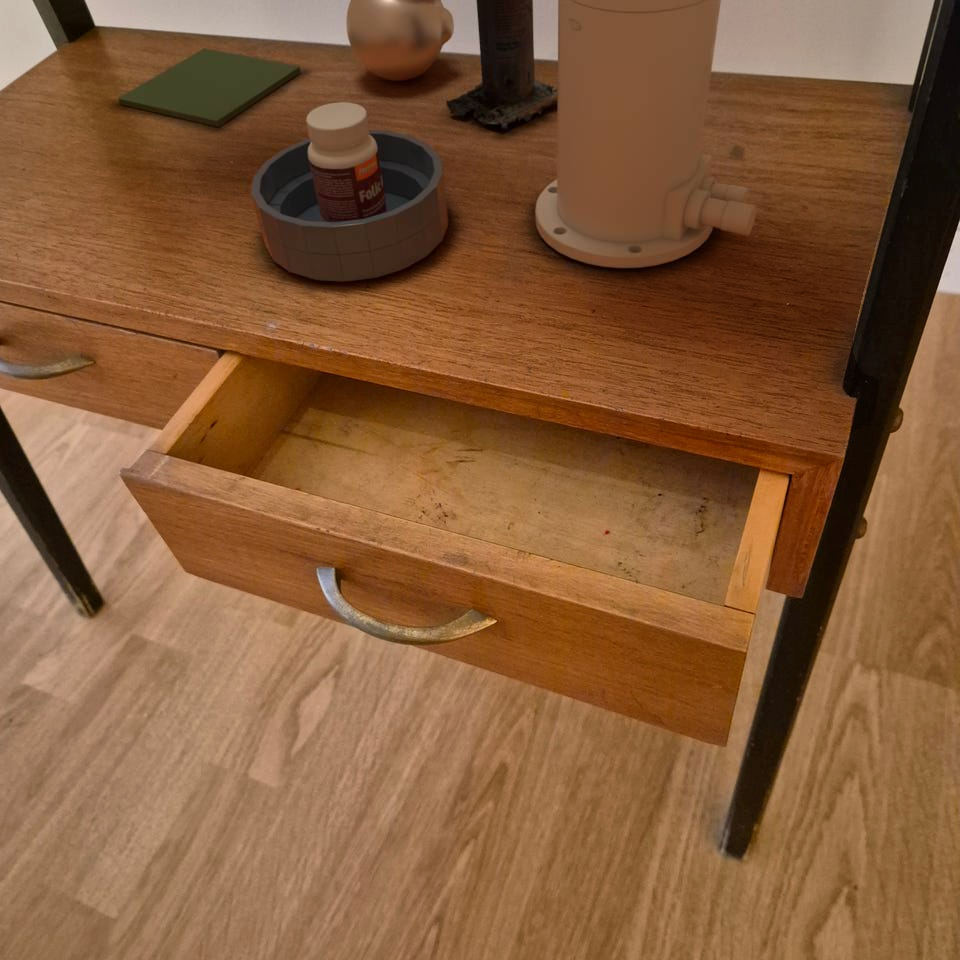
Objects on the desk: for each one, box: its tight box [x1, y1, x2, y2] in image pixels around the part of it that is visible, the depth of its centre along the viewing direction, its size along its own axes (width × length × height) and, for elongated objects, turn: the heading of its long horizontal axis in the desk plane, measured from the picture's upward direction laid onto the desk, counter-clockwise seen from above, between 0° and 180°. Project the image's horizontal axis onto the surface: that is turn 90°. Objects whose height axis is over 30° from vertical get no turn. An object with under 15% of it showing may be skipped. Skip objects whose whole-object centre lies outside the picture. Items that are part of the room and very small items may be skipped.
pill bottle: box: [305, 101, 387, 222], centre depth 60 cm, size 5×5×8 cm
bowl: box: [250, 129, 449, 283], centre depth 62 cm, size 13×13×4 cm
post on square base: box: [445, 0, 558, 132], centre depth 71 cm, size 9×8×12 cm
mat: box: [117, 48, 301, 128], centre depth 82 cm, size 12×12×1 cm
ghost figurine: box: [345, 0, 455, 82], centre depth 78 cm, size 9×10×10 cm
